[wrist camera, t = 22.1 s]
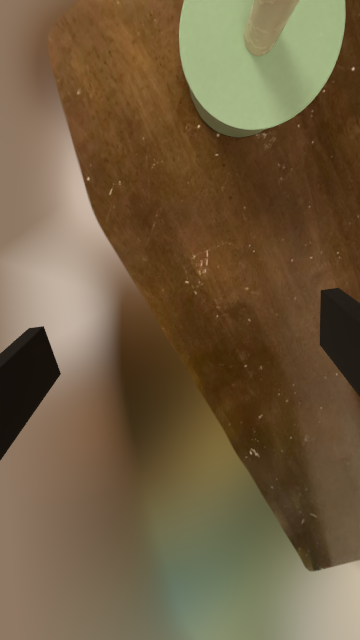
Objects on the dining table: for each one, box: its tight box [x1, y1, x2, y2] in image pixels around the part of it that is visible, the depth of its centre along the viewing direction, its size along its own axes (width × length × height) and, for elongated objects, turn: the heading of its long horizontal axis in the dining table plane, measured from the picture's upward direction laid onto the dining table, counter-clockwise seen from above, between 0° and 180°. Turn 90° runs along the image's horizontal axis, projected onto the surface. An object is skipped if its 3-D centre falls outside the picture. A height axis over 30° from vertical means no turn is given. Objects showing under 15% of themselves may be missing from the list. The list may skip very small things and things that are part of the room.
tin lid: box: [179, 0, 345, 131], centre depth 21 cm, size 13×13×10 cm
